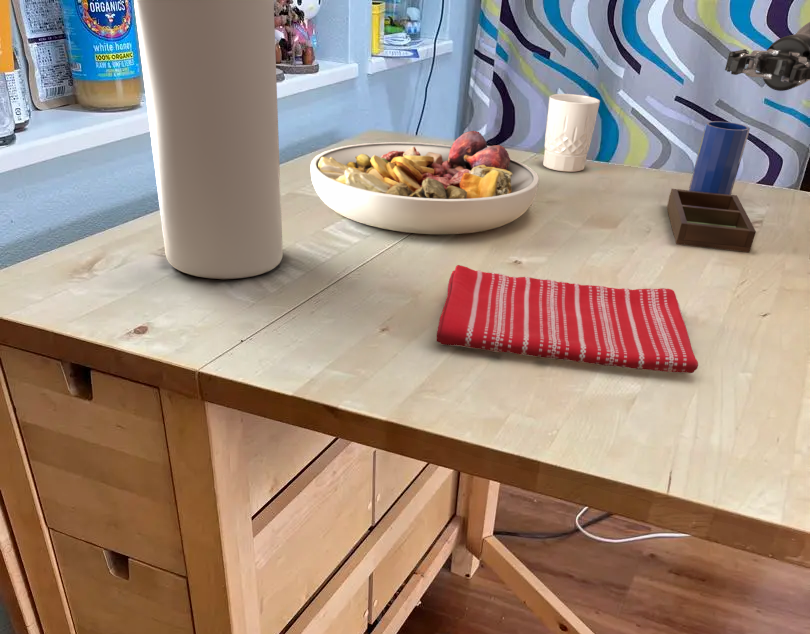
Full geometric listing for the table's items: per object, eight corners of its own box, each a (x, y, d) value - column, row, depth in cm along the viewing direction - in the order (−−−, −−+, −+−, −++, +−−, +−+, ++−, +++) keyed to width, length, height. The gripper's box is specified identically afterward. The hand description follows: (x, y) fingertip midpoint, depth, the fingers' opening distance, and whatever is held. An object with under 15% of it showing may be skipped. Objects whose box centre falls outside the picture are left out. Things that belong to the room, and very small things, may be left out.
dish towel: (451, 284, 87) (454, 260, 85) (675, 310, 84) (682, 285, 83) (429, 350, 73) (431, 322, 71) (694, 382, 71) (703, 354, 69)
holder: (731, 214, 115) (737, 195, 113) (749, 252, 101) (756, 231, 100) (666, 207, 116) (671, 188, 114) (676, 244, 102) (681, 223, 101)
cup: (725, 196, 123) (746, 123, 117) (730, 206, 118) (752, 131, 112) (685, 191, 124) (704, 119, 118) (689, 202, 119) (708, 127, 113)
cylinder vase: (158, 246, 91) (123, -23, 76) (267, 239, 95) (254, -18, 80) (177, 286, 82) (142, -11, 67) (296, 276, 86) (288, -6, 71)
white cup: (553, 158, 136) (563, 92, 130) (595, 167, 133) (608, 99, 127) (530, 166, 131) (540, 97, 125) (574, 175, 128) (586, 105, 122)
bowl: (467, 260, 93) (474, 188, 88) (264, 208, 105) (261, 142, 100) (567, 205, 114) (578, 145, 109) (389, 167, 125) (391, 111, 120)
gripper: (756, 28, 130) (724, 34, 119) (848, 40, 124) (823, 47, 113) (741, 81, 135) (709, 91, 124) (830, 94, 129) (803, 107, 118)
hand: (763, 70), depth 119 cm, fingers open, 8 cm apart
